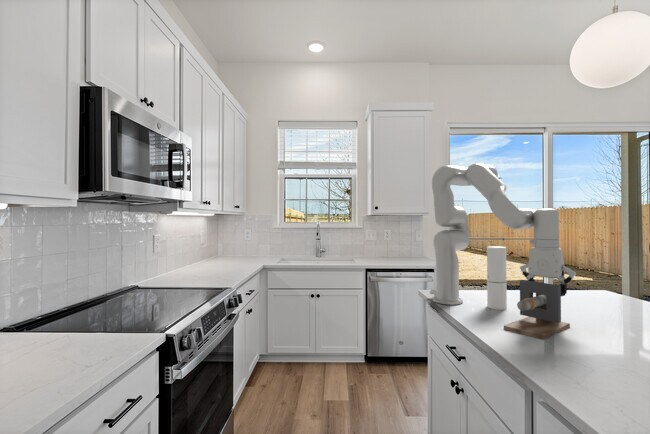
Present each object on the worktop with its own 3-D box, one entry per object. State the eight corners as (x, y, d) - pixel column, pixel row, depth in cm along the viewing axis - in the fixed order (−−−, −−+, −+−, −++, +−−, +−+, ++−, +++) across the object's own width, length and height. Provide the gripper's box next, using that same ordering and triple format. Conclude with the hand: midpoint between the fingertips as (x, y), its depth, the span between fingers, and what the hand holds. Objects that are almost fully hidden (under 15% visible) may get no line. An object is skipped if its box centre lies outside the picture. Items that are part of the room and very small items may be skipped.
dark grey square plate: (520, 314, 122) (519, 280, 122) (522, 313, 123) (522, 280, 123) (558, 323, 112) (558, 286, 112) (561, 321, 113) (560, 285, 113)
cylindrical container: (502, 305, 146) (502, 246, 146) (509, 309, 139) (509, 247, 139) (484, 304, 147) (484, 246, 147) (491, 309, 140) (490, 247, 140)
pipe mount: (503, 329, 116) (503, 293, 116) (532, 318, 127) (532, 286, 127) (542, 339, 106) (542, 300, 106) (569, 327, 117) (569, 291, 117)
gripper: (515, 243, 126) (515, 290, 126) (570, 246, 111) (570, 299, 112) (525, 242, 130) (525, 287, 130) (579, 245, 116) (580, 296, 116)
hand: (546, 293), depth 121 cm, fingers open, 9 cm apart
